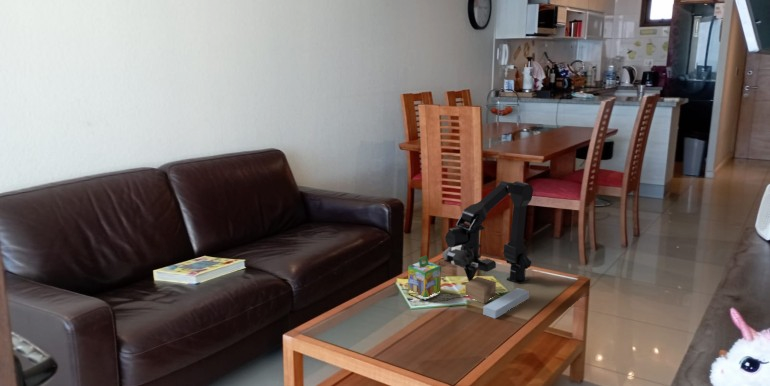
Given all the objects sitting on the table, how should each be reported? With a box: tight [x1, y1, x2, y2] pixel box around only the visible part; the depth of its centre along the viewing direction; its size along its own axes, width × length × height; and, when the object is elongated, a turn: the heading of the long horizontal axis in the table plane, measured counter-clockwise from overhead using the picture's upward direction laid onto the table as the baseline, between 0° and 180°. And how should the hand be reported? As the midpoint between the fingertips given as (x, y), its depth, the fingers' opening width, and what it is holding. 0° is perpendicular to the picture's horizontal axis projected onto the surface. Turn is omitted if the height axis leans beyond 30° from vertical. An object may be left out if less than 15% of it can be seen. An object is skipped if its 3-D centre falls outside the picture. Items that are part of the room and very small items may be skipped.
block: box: [464, 276, 497, 304], centre depth 234 cm, size 8×8×6 cm
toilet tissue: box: [442, 245, 462, 267], centre depth 268 cm, size 9×13×9 cm
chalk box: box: [407, 255, 442, 297], centre depth 235 cm, size 9×9×15 cm
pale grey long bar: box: [482, 287, 530, 319], centre depth 226 cm, size 22×5×3 cm, turn 136°
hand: (470, 281), depth 236 cm, fingers closed
